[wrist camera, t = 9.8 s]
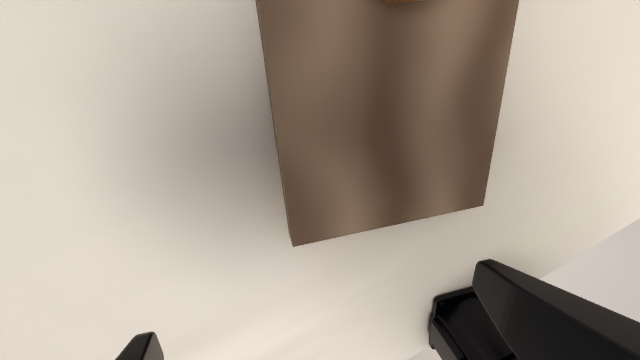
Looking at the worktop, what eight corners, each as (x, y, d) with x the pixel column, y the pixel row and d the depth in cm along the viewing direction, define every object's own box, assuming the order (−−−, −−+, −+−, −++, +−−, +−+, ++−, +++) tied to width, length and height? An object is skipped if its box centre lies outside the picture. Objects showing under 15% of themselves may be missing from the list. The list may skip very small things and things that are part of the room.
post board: (532, -219, 15) (715, -365, 9) (469, 195, 25) (540, 246, 19) (221, -238, 12) (215, -455, 7) (289, 233, 22) (310, 305, 17)
